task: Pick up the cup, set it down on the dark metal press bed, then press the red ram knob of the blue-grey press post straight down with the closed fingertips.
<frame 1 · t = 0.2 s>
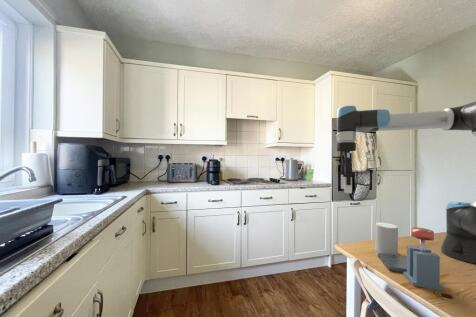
hand: (346, 190, 92), 27 cm above the table, fingers open, 13 cm apart
press frame: (422, 281, 71), on the table
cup: (386, 252, 94), on the table
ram: (422, 245, 71), point 12 cm above the table, slide at 0.0 cm
press bed: (400, 265, 82), on the table
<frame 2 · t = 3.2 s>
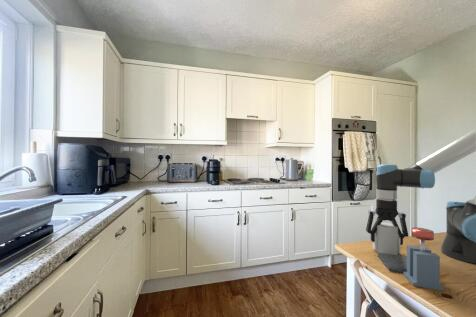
hand: (386, 250, 94), 1 cm above the table, fingers closed on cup, 8 cm apart
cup: (386, 252, 94), on the table, touching gripper
everything else where it was.
when the fingers open (4 cm above the table, at t = 8.4 s): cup drops 1 cm, resting on press bed.
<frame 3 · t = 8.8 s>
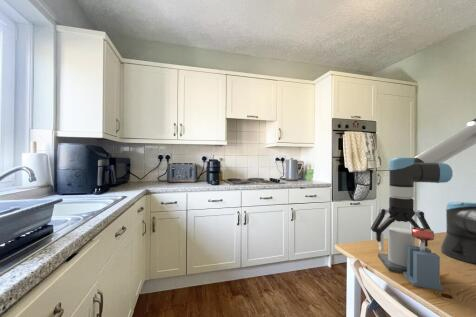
hand: (400, 252, 82), 5 cm above the table, fingers open, 13 cm apart
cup: (401, 261, 82), point 1 cm above the table, touching press bed
everything else where it was.
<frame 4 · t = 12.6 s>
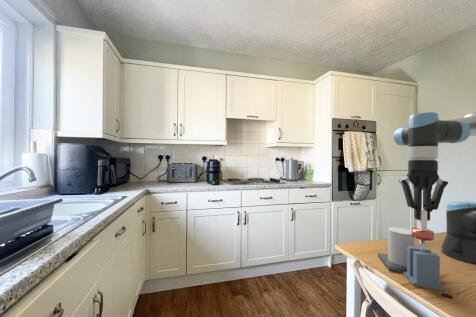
hand: (422, 229, 71), 18 cm above the table, fingers closed
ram: (422, 245, 71), point 12 cm above the table, slide at 0.1 cm, touching gripper
everything else where it was.
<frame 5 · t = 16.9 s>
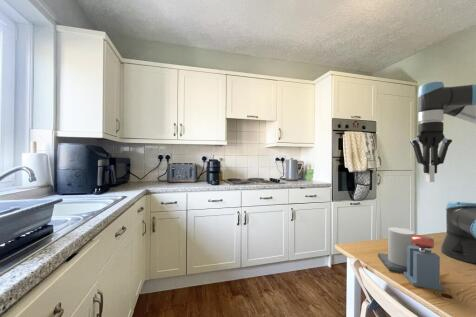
hand: (430, 181, 84), 32 cm above the table, fingers closed
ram: (422, 253, 71), point 10 cm above the table, slide at 2.6 cm
everything else where it was.
at the end: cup inside the target area on the press bed (0.1 cm from its centre), point 1.3 cm above the press bed's base; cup tilted 0°; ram slide at 2.6 cm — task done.
